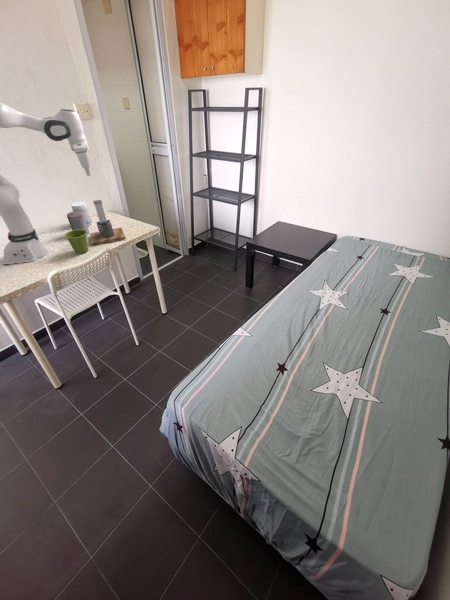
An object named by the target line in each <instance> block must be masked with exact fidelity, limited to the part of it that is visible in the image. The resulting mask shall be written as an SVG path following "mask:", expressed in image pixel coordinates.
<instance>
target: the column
mask: <svg viewBox="0 0 450 600" xmlns="http://www.w3.org/2000/svg"><path fill="white" fill-rule="evenodd" d="M92 203H93V205H94V207H95V210H96V213H97V218H98V221H100V224H101V225H102V224H103V223H106V224H107V220H108V219H107V217H106V214H105V211H104V208H103V201H102V199H96V200H93V201H92Z"/></svg>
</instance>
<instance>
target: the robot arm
mask: <svg viewBox="0 0 450 600" xmlns="http://www.w3.org/2000/svg"><path fill="white" fill-rule="evenodd" d="M0 128H2V129H10V128H25V129H29V130H33V131H38V132H41V133H43V134H44V135H45V136H47V137H48V139H50V140H52V141H54V142H62V141H63V140H66V139H67V140H68V141H67V142H68V144H69V146H70V150H71V152H74V154H75V155H76V156H77V158H78V159H77V160H78V162H79V163H80V166H81V168H82V169H84V171H85V174H86V176H87V177H90V176H91V173H90V166H91V165H90V161H89V160H90V159H89V156H88V155H89V154H88V153H89V151H88V150H89V149H90V147H89V143H88V140H87V137H86V135H85V131H84V129H85V128H84V126H83V123H82V121H81V118H80V116H79V113H78V112H76V111H75V110H72V109H65V108H62V109H60V110H59V111H58V112H57V113H56V114H55V115H54V116H53V115H52V116H50V117H38V116H35V115H32V114H28V113H24V112H21V111H19V110H16V109H15V108H13V107H11V106H9V105H8V104H5V103H3V102H1V101H0ZM20 196H21V195H20V191H19V189H18V187H17V186H16V185H15V184H14V183H12V182H11V181H9V180H8V179H7V178H5V176H4V175H2V174H0V217H1V219H2V220H3V222H4V223H5V225H6V227H7V229H8V233H7V239H8V241H9V242H7V244H6V245H5V247H4V248H3V257H2V258H1V263H2V264H3V265H4V264H5V265H4V266H7V265H6V264H9V265H15V264H14V263H17V264H24V263H23V262H25V263H30V262H35V261H36V260H37V259H39V258H42V257H43V256H45V255H46V254H47V253H48V251H47V249H46V248H45V246H44V245H43V243H42V242H41V241H40V239H39V236H38V233H37V231H36V229H35V228H34V227H33V225H32V223H31V221H30V217H29V216H28V214H27V213H26V212H25V210H24V208H23V207H22V205H21V203H20Z"/></svg>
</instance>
